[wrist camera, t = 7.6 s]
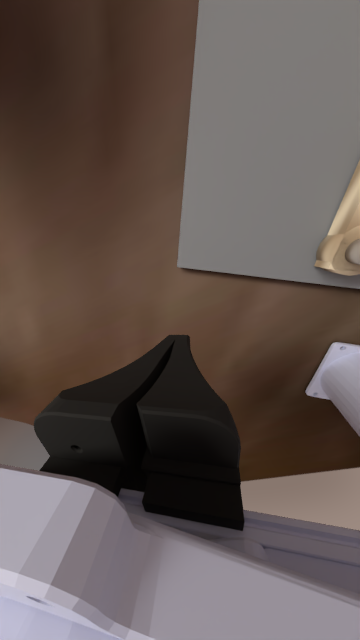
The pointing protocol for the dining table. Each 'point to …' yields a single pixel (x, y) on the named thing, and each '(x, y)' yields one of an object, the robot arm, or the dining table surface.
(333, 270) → the link
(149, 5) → the dining table surface
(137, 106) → the dining table surface
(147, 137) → the dining table surface
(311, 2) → the base plate
